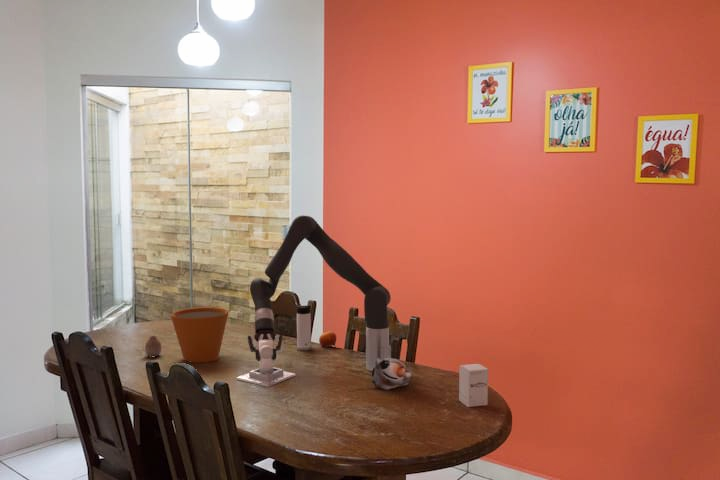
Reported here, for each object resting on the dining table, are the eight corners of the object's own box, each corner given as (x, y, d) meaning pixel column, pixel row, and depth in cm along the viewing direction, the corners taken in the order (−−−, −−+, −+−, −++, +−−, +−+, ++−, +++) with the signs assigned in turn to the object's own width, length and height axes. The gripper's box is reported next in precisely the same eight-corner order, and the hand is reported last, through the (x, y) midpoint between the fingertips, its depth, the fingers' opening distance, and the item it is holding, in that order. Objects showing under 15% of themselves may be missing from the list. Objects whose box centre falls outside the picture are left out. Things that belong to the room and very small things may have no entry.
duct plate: (295, 375, 237) (295, 368, 237) (268, 386, 224) (268, 379, 223) (265, 369, 246) (264, 362, 245) (236, 379, 232) (236, 372, 232)
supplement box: (468, 408, 202) (468, 370, 200) (458, 400, 209) (458, 364, 208) (488, 405, 204) (488, 368, 202) (477, 398, 211) (478, 362, 210)
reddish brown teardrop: (164, 354, 268) (163, 334, 268) (157, 358, 261) (157, 338, 261) (149, 353, 269) (148, 334, 268) (142, 358, 262) (141, 338, 261)
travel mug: (309, 351, 273) (308, 307, 271) (295, 350, 274) (294, 306, 272) (313, 347, 279) (312, 304, 277) (299, 346, 280) (298, 304, 278)
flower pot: (160, 361, 257) (158, 315, 255) (199, 348, 278) (198, 305, 276) (203, 369, 246) (201, 320, 244) (240, 355, 267) (239, 310, 265)
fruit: (332, 346, 275) (325, 330, 276) (320, 353, 279) (314, 337, 281) (343, 343, 281) (336, 327, 283) (332, 349, 285) (325, 333, 287)
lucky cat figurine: (413, 381, 229) (419, 354, 221) (402, 403, 219) (408, 375, 212) (377, 367, 233) (381, 340, 225) (364, 387, 223) (369, 360, 216)
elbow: (259, 369, 237) (258, 339, 235) (272, 369, 238) (272, 339, 237) (260, 376, 228) (259, 345, 227) (273, 376, 229) (273, 344, 228)
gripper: (246, 317, 239) (247, 356, 228) (282, 316, 241) (285, 353, 231) (246, 328, 244) (247, 365, 234) (281, 326, 247) (284, 363, 236)
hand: (266, 359), depth 232 cm, fingers closed on elbow, 5 cm apart
